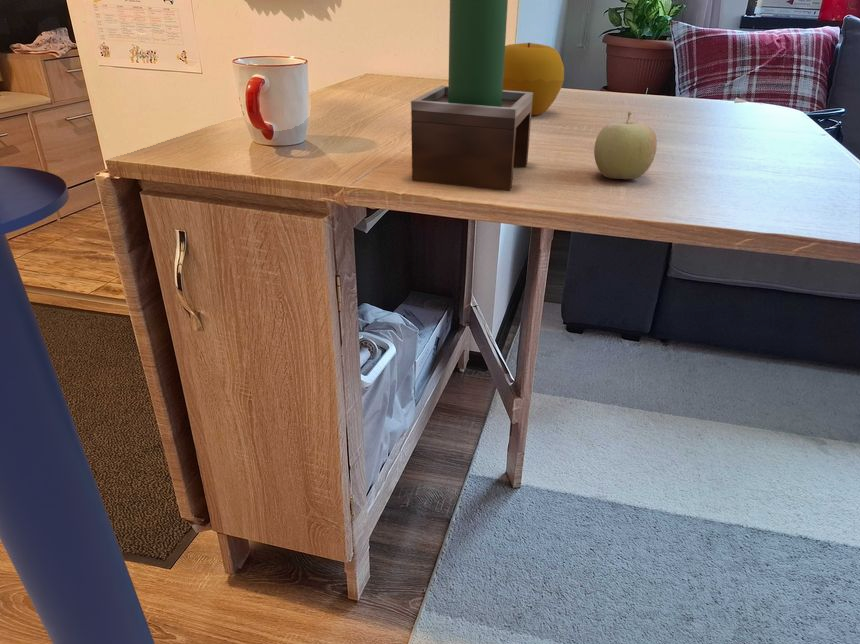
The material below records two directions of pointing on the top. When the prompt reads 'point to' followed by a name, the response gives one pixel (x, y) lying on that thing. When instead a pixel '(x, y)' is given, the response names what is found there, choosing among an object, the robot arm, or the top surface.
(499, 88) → the bottle
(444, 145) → the brown wooden box
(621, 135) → the fruit
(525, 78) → the apple
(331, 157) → the top surface
